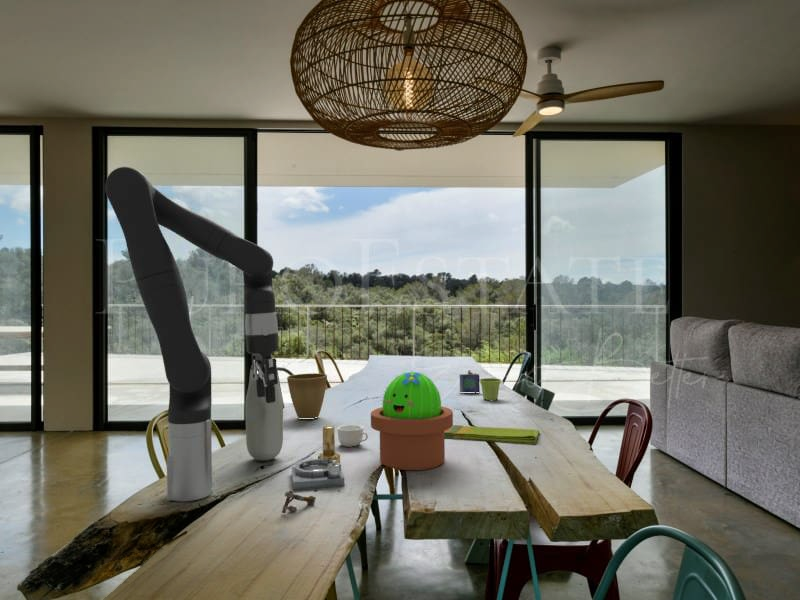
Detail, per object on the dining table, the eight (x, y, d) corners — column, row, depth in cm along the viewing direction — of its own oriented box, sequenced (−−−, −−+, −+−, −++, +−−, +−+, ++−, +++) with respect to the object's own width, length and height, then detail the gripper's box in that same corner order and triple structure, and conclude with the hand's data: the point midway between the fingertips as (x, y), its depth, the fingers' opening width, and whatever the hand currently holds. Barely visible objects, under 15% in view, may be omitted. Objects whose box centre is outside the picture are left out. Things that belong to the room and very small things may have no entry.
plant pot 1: (323, 412, 214) (323, 372, 214) (331, 420, 200) (330, 377, 200) (285, 415, 210) (284, 374, 210) (290, 424, 195) (289, 379, 195)
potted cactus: (395, 446, 163) (394, 363, 163) (464, 455, 153) (463, 367, 153) (356, 467, 144) (355, 372, 144) (432, 479, 134) (431, 377, 134)
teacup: (332, 446, 164) (332, 429, 164) (346, 440, 171) (346, 423, 171) (360, 450, 160) (360, 432, 160) (374, 444, 166) (373, 426, 166)
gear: (318, 468, 143) (318, 430, 143) (317, 461, 149) (316, 425, 149) (341, 466, 145) (340, 428, 145) (338, 460, 150) (338, 424, 150)
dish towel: (434, 427, 190) (434, 418, 190) (539, 434, 178) (539, 424, 178) (421, 438, 175) (421, 428, 175) (535, 446, 164) (535, 435, 164)
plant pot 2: (503, 401, 232) (502, 381, 232) (481, 401, 232) (480, 381, 232) (499, 397, 242) (499, 378, 242) (478, 397, 242) (478, 378, 242)
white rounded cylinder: (243, 457, 154) (242, 358, 154) (280, 452, 158) (278, 356, 158) (248, 467, 145) (247, 362, 145) (286, 462, 149) (285, 360, 149)
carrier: (293, 490, 127) (292, 466, 127) (291, 472, 140) (291, 450, 140) (344, 485, 130) (344, 462, 130) (338, 468, 143) (338, 447, 143)
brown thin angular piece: (276, 511, 113) (283, 488, 114) (304, 515, 118) (310, 494, 120) (282, 513, 111) (289, 490, 113) (310, 518, 117) (316, 496, 118)
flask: (459, 393, 253) (459, 370, 253) (459, 392, 256) (459, 369, 256) (479, 393, 252) (479, 370, 252) (479, 392, 255) (479, 369, 255)
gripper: (239, 332, 134) (243, 397, 135) (252, 335, 122) (257, 406, 122) (269, 329, 138) (273, 393, 138) (285, 332, 125) (289, 402, 126)
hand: (266, 399), depth 130 cm, fingers open, 8 cm apart
